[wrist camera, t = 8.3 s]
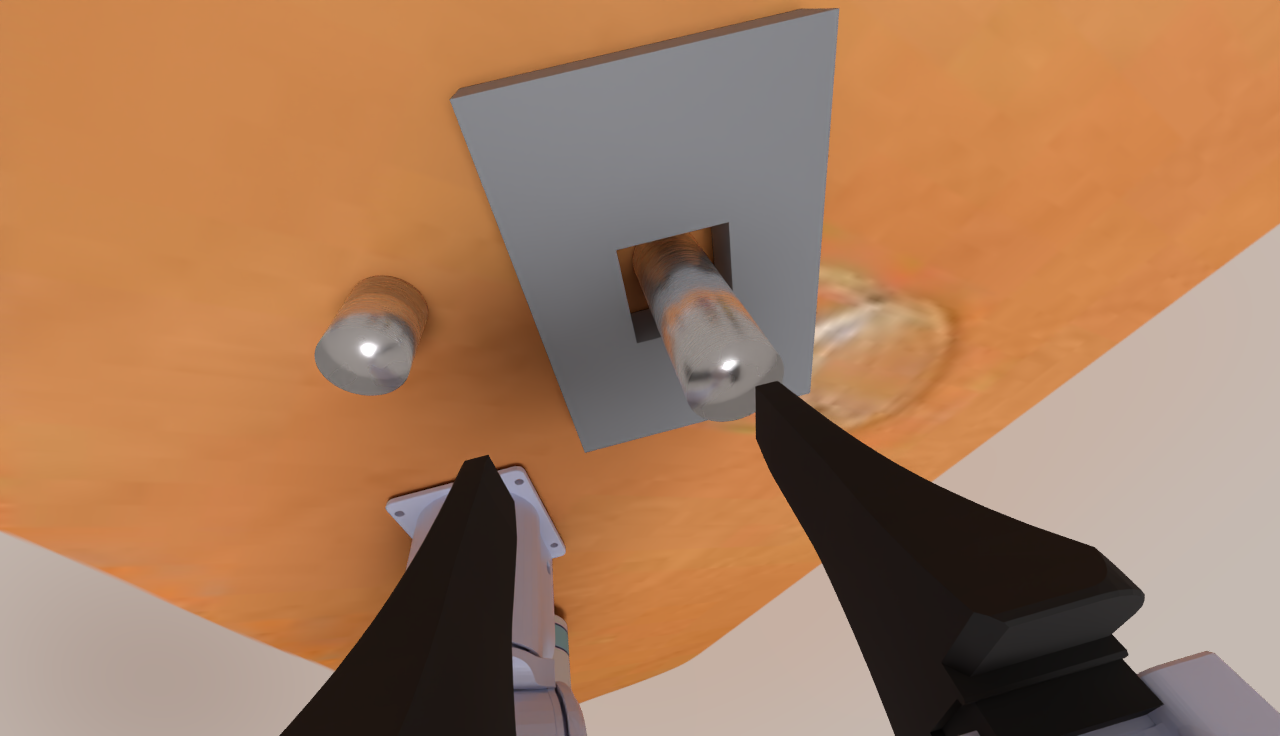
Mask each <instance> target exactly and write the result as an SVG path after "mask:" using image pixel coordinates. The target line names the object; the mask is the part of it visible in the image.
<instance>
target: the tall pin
mask: <svg viewBox="0 0 1280 736" xmlns="http://www.w3.org/2000/svg"><path fill="white" fill-rule="evenodd" d="M632 261H633V268H634V271H635V274H636V276H637V279H638V281H639V284H640V286H641V288H642V291H643V293H644V296H645V298H646V301H647V303H648V306H649V308H650V311H651V313H652V316H653V318H654V320H655V323H656V325H657V328H658V330H659V333H660V335H661V338H662V340H663V343H664V345H665V348H666V350H667V352H668V355H669V357H670V360H671V362H672V365H673V367H674V370H675V372H676V375H677V377H678V380H679V382H680V384H681V387H682V389H683V392H684V394H685V397H686V399H687V402H688V404H689V406H690V408H691V409H692V410H693V411H694V412H695V413H696V414H697V415H699V416H700V417H702V418H705V419H707V420H711V421H719V422H724V421H733V420H737V419H741V418H744V417H746V416H748V415H751V414H753V413H754V412H756V399H755V386H758V385H762V384H766V383H770V382H774V381H779V382H780V383H782V380H783V376H784V365H783V362H782V359H781V357H780V355H779V354H778V353H777V351H776V350H775V349H774V347H773V346H772V344H771V343H770V342H769V340H768V339H767V338H766V336H765V335H764V334H763V332H762V331H761V329H760V328H759V327H758V325H757V324H756V323H755V321H754V320H753V318H752V317H751V316H750V314H749V313H748V312H747V310H746V309H745V307H744V306H743V305H742V303H741V302H740V301H739V299H738V298H737V297H736V295H735V294H734V292H733V291H732V290H731V288H730V287H729V286H728V284H727V283H726V281H725V280H724V279H723V277H722V276H721V275H720V273H719V272H718V270H717V269H716V268H715V266H714V265H713V264H712V262H711V261H710V260H709V258H708V257H707V255H706V254H705V253H704V251H703V250H702V249H701V247H700V246H699V244H698V243H697V242H696V240H695V239H694V238H693V236H692V235H691V234H690V233H689V232H687V233H683V234H679V235H675V236H671V237H667V238H663V239H659V240H655V241H651V242H647V243H643V244H639V245H636V247H635V249H634V253H633V259H632Z"/></svg>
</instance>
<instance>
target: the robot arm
mask: <svg viewBox="0 0 1280 736" xmlns="http://www.w3.org/2000/svg"><path fill="white" fill-rule="evenodd" d="M755 399H756V440H757V442H758V444H759V447H760V449H761V452H762V454H763V456H764V459H765V461H766V463H767V465H768V468H769V470H770V472H771V474H772V476H773V477H774V479H775V481H776V483H777V484H778V486H779V488H780V490H781V491H782V493H783V495H784V496H785V498H786V500H787V502H788V503H789V505H790V507H791V508H792V510H793V512H794V514H795V515H796V517H797V519H798V520H799V522H800V524H801V525H802V527H803V529H804V531H805V532H806V534H807V536H808V537H809V539H810V541H811V543H812V544H813V546H814V548H815V550H816V552H817V554H818V556H819V558H820V560H821V562H822V564H823V566H824V568H825V570H826V573H827V574H828V576H829V579H830V581H831V583H832V586H833V588H834V590H835V592H836V594H837V597H838V599H839V601H840V603H841V605H842V608H843V610H844V612H845V614H846V617H847V619H848V621H849V624H850V626H851V628H852V630H853V633H854V635H855V637H856V640H857V642H858V645H859V647H860V649H861V652H862V654H863V657H864V659H865V661H866V663H867V666H868V668H869V671H870V673H871V676H872V678H873V681H874V683H875V685H876V688H877V691H878V693H879V696H880V698H881V701H882V703H883V706H884V708H885V711H886V713H887V716H888V718H889V721H890V724H891V726H892V729H893V731H894V734H895V736H1280V713H1278V711H1276V710H1275V709H1274V708H1273V707H1272V706H1271V705H1270V704H1269V703H1268V702H1267V701H1266V700H1265V699H1264V698H1262V697H1261V696H1260V695H1259V694H1258V693H1257V692H1256V691H1255V690H1254V689H1253V688H1252V687H1251V686H1249V684H1247V683H1246V682H1245V681H1244V680H1243V679H1242V678H1241V677H1240V676H1239V675H1238V674H1237V673H1236V672H1235V671H1233V670H1232V669H1231V668H1230V667H1229V666H1228V665H1227V664H1226V663H1225V662H1224V661H1223V660H1222V659H1221V658H1219V657H1218V656H1217V655H1216V654H1215V653H1212V652H1209V651H1205V652H1201V653H1198V654H1195V655H1192V656H1188V657H1184V658H1181V659H1178V660H1174V661H1171V662H1168V663H1164V664H1161V665H1158V666H1155V667H1152V668H1149V669H1147V670H1145V671H1143V672H1140V673H1139V674H1136V673H1135V672H1134V671H1133V670H1132V669H1131V668H1130V667H1129V666H1128V665H1127V664H1126V662H1124V660H1123V658H1125V657H1127V656H1128V652H1127V650H1126V649H1125V648H1124V647H1123V645H1122V644H1120V642H1118V640H1117V639H1116V638H1115V637H1114V636H1113V635H1112V633H1113V632H1115V631H1116V630H1117V629H1118V628H1119V627H1120V626H1122V625H1123V624H1124V623H1125V622H1126V621H1127V620H1128V619H1130V618H1131V617H1132V616H1133V615H1134V614H1135V613H1136V612H1137V611H1138V610H1139V609H1140V608H1141V607H1142V605H1143V603H1144V598H1145V597H1144V596H1145V595H1144V593H1143V592H1142V591H1141V589H1139V588H1138V587H1137V586H1136V585H1135V584H1134V583H1133V582H1132V581H1131V580H1130V579H1129V578H1128V577H1127V576H1126V575H1125V574H1124V573H1123V572H1122V571H1121V570H1120V569H1118V568H1117V567H1116V566H1115V565H1114V564H1113V563H1112V562H1111V561H1109V559H1107V558H1106V557H1105V556H1104V555H1103V554H1102V553H1101V552H1099V551H1098V550H1097V549H1096V548H1095V547H1092V546H1089V545H1087V544H1084V543H1081V542H1078V541H1075V540H1072V539H1069V538H1066V537H1063V536H1060V535H1058V534H1055V533H1051V532H1049V531H1046V530H1043V529H1040V528H1037V527H1034V526H1032V525H1029V524H1026V523H1024V522H1021V521H1019V520H1016V519H1014V518H1011V517H1009V516H1006V515H1004V514H1001V513H999V512H996V511H994V510H991V509H988V508H986V507H984V506H982V505H980V504H977V503H975V502H973V501H971V500H968V499H966V498H964V497H962V496H960V495H957V494H955V493H953V492H950V491H949V490H947V489H944V488H942V487H940V486H938V485H936V484H934V483H932V482H930V481H928V480H926V479H924V478H922V477H920V476H918V475H916V474H915V473H913V472H911V471H909V470H907V469H905V468H904V467H902V466H900V465H898V464H896V463H895V462H893V461H891V460H890V459H888V458H886V457H885V456H883V455H881V454H880V453H878V452H876V451H875V450H873V449H872V448H870V447H868V446H867V445H865V444H864V443H862V442H861V441H859V440H858V439H856V438H855V437H853V436H852V435H850V434H849V433H847V432H846V431H844V430H843V429H842V428H840V427H839V426H837V425H836V424H834V423H833V422H832V421H830V420H829V419H827V418H826V417H825V416H823V415H822V414H821V413H819V412H818V411H817V410H815V409H814V408H813V407H811V406H810V405H809V404H807V403H806V402H805V401H803V400H802V399H801V398H800V397H798V396H797V395H796V394H794V393H793V392H792V391H791V390H789V389H788V388H787V387H786V386H784V385H783V384H782V383H780V382H779V381H774V382H770V383H766V384H762V385H758V386H755ZM518 479H521V480H518ZM386 510H387V511H388V513H389V514H390V515H391V516H392V517H393V518H394V519H395V520H396V521H397V523H398V524H399V525H400V526H401V527H402V528H403V529H404V530H405V531H406V532H407V534H408V535H409V536H410V537H411V538H412V539H413V540H412V544H411V549H410V553H409V558H408V562H407V567H406V571H405V573H404V575H403V577H402V578H401V580H400V582H399V583H398V585H397V586H396V588H395V589H394V591H393V592H392V594H391V595H390V597H389V599H388V600H387V602H386V603H385V604H384V606H383V607H382V609H381V610H380V612H379V613H378V615H377V616H376V618H375V619H374V620H373V622H372V623H371V625H370V626H369V627H368V629H367V630H366V631H365V633H364V634H363V635H362V637H361V638H360V639H359V641H358V642H357V643H356V645H355V646H354V647H353V649H352V650H351V651H350V652H349V654H348V655H347V656H346V658H345V659H344V660H343V662H342V663H341V664H340V665H339V667H338V668H337V669H336V671H335V672H334V673H333V674H332V676H331V677H330V678H329V679H328V680H327V682H326V683H325V684H324V685H323V686H322V687H321V689H320V690H319V691H318V692H317V693H316V695H315V696H314V697H313V698H312V699H311V701H310V702H309V703H308V704H307V705H306V706H305V708H304V709H303V710H302V711H301V712H300V713H299V714H298V715H297V717H296V718H295V719H294V720H293V721H292V722H291V723H290V725H289V726H288V727H287V728H286V729H285V730H284V731H283V732H282V734H280V736H587V734H586V727H585V722H584V717H583V714H582V710H581V708H580V705H579V703H578V701H577V700H576V698H575V696H574V694H573V692H572V690H571V689H570V687H569V686H568V685H567V684H566V683H564V682H562V681H555V660H554V659H552V658H553V655H554V650H555V618H554V593H553V569H552V558H556V557H560V556H562V555H564V554H565V552H566V549H565V545H564V543H563V541H562V539H561V538H560V536H559V534H558V532H557V530H556V528H555V526H554V524H553V522H552V520H551V519H550V517H549V515H548V513H547V511H546V509H545V507H544V505H543V503H542V501H541V500H540V498H539V496H538V494H537V492H536V490H535V488H534V486H533V484H532V483H531V481H530V479H529V477H528V475H527V473H526V471H525V469H524V468H522V467H520V466H513V467H510V468H506V469H502V470H498V471H497V469H496V468H495V466H494V464H493V462H492V460H491V459H490V457H489V455H486V456H482V457H478V458H474V459H470V460H466V461H465V462H464V463H463V465H462V467H461V469H460V471H459V473H458V475H457V477H456V479H455V481H454V482H453V483H449V484H446V485H442V486H438V487H434V488H430V489H427V490H423V491H419V492H415V493H412V494H408V495H404V496H400V497H397V498H393V499H390V500H389V501H388V502H387V504H386Z"/></svg>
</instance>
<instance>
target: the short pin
mask: <svg viewBox="0 0 1280 736" xmlns="http://www.w3.org/2000/svg"><path fill="white" fill-rule="evenodd" d="M427 318H428V307H427V303H426V301H425V299H424V297H423V296H422V294H421V293H420V292H419V291H418V290H417V289H416V288H415V287H413V286H412V285H411V284H409V283H407V282H406V281H403V280H401V279H398V278H395V277H391V276H372V277H369V278H366V279H364V280H362V281H360V282H359V283H358V284H357V285H356V286H355V287H354V288H353V290H352V291H351V293H350V294H349V296H348V298H347V299H346V301H345V302H344V304H343V305H342V307H341V308H340V310H339V311H338V313H337V315H336V316H335V318H334V319H333V321H332V322H331V324H330V325H329V327H328V329H327V330H326V332H325V333H324V335H323V336H322V338H321V339H320V341H319V343H318V344H317V346H316V349H315V361H316V364H317V367H318V369H319V370H320V372H321V373H322V374H323V376H324V377H325V378H326V379H327V380H329V381H330V382H331V383H332V384H334V385H335V386H337V387H339V388H341V389H343V390H345V391H348V392H351V393H355V394H360V395H382V394H386V393H389V392H392V391H394V390H396V389H397V388H399V387H400V386H401V385H402V384H403V383H404V382H405V381H406V379H407V377H408V375H409V372H410V369H411V366H412V363H413V360H414V357H415V354H416V351H417V348H418V345H419V342H420V339H421V336H422V333H423V330H424V327H425V324H426V321H427Z"/></svg>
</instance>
